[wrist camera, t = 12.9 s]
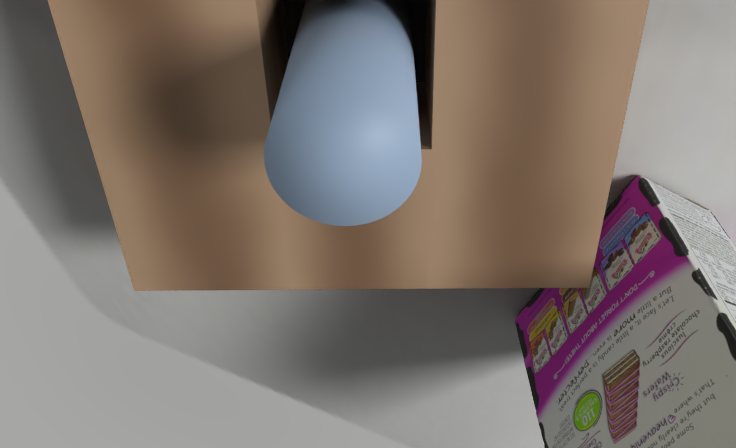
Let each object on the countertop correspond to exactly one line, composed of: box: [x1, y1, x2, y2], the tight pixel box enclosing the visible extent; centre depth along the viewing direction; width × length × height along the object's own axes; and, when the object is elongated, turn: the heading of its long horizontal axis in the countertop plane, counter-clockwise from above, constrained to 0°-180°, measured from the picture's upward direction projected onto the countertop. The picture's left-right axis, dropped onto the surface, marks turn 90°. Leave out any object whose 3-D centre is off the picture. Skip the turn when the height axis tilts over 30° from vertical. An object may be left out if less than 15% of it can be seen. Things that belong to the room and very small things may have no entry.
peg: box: [264, 0, 422, 226], centre depth 25 cm, size 4×4×12 cm
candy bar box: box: [515, 175, 736, 448], centre depth 31 cm, size 11×5×16 cm, turn 154°
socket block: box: [48, 0, 649, 291], centre depth 27 cm, size 20×20×6 cm
